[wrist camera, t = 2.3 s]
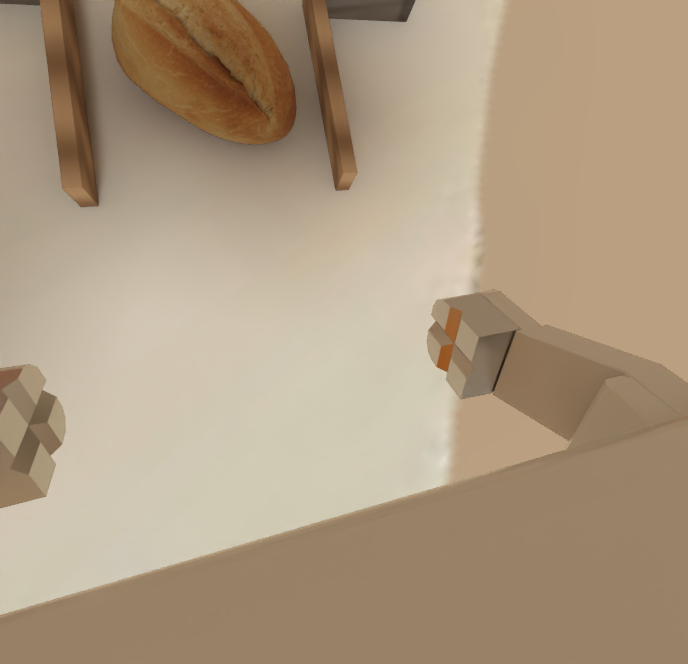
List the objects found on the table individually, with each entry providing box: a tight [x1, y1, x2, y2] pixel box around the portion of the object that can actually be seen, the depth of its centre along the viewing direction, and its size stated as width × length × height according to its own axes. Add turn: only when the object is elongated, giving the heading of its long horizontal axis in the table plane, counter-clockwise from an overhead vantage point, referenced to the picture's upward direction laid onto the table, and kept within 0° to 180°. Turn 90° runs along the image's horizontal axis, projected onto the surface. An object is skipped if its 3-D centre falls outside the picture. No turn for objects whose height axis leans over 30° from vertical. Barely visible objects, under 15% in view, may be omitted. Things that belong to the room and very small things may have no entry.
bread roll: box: [112, 0, 296, 144], centre depth 30 cm, size 10×15×8 cm, turn 62°
